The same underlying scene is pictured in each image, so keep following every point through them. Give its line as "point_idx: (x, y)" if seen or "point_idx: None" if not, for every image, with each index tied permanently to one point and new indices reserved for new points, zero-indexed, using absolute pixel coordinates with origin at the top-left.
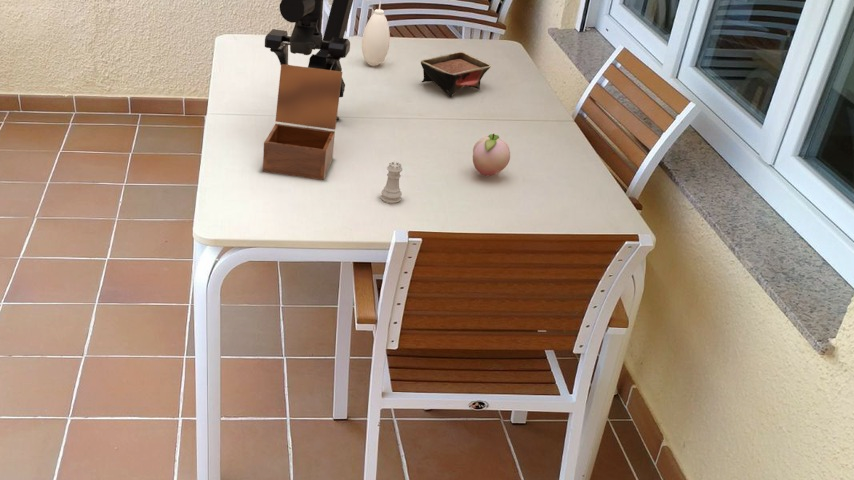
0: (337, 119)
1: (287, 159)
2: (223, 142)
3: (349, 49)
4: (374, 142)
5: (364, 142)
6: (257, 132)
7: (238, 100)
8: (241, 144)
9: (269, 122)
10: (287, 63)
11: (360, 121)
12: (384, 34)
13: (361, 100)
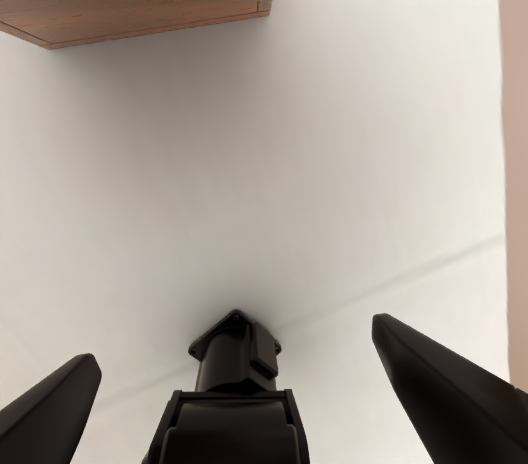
0: (191, 346)
1: None
2: (464, 14)
3: None
4: (27, 266)
5: (51, 252)
6: (369, 166)
7: (459, 340)
8: (398, 29)
9: (354, 254)
10: (438, 451)
11: (140, 367)
12: None
13: None
